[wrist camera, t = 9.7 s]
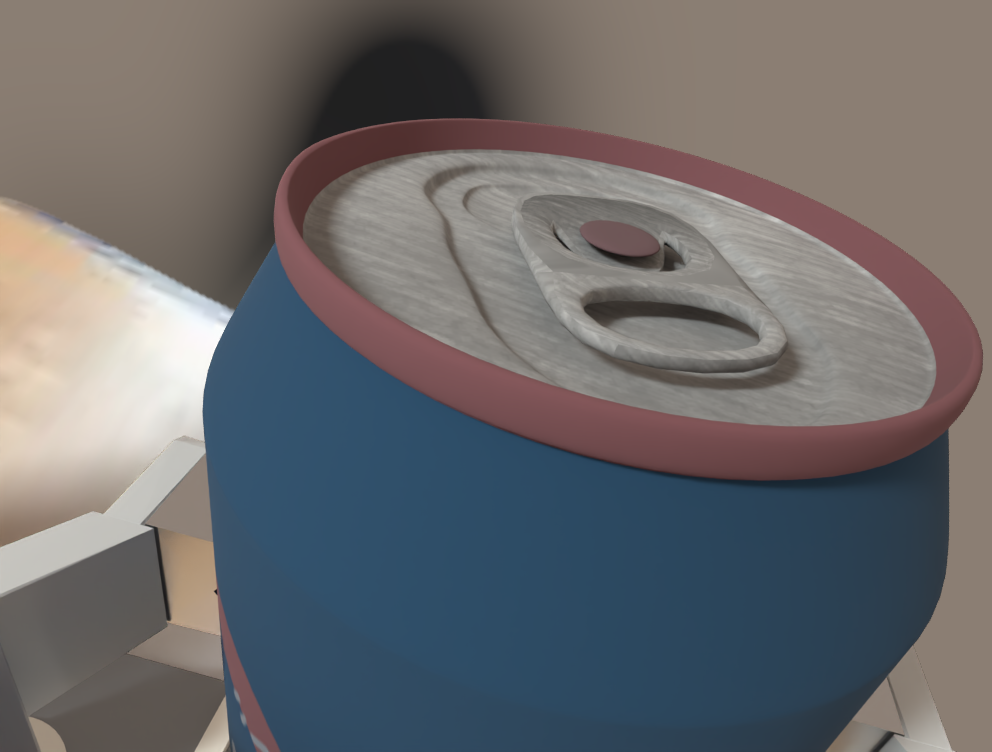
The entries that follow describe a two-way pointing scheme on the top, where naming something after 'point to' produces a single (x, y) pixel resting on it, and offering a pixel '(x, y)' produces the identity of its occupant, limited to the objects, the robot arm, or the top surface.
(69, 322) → the top surface
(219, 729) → the board
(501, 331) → the soda can
